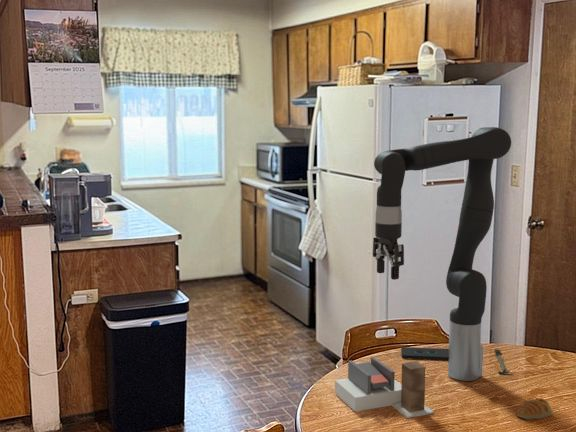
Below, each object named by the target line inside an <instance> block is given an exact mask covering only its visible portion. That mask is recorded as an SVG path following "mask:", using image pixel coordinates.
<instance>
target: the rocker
mask: <svg viewBox="0 0 576 432" xmlns="http://www.w3.org/2000/svg"><path fill="white" fill-rule="evenodd" d="M356 364H357V365H358V366H360V367H361V368H362V369H364V370H365V371H366V372H368V373H369V374H370V375H371V388H372V389H374V388H380V387H386V386H389V381H388V380H387V379H386V378H385V377H384V376H383V375H382V374H381V373H380V372H379V371H378V370H377V369H376V368H375V367H374V366H373V365H372V364H371V361H368V362H367V361H366V362H359V363H356Z"/></svg>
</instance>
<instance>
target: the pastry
mask: <svg viewBox="0 0 576 432" xmlns="http://www.w3.org/2000/svg"><path fill="white" fill-rule="evenodd" d="M552 413H553V410H552V407H551V406H550V404H549V402H548V401H547V400H546V399H544V398H539V397H536V398H534V399H529V400H526V401H525V402H524V403H522V404H521V405H519V407H518V408H517V409H516V416H517V417H519V418H522V419H523V420H530V421H531V420H540V419H543V418H547V417H550V416H551V415H552Z"/></svg>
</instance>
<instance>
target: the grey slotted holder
mask: <svg viewBox="0 0 576 432" xmlns="http://www.w3.org/2000/svg"><path fill="white" fill-rule="evenodd" d="M347 362H348V363H347V378H345V377H344V378H341V379H335V380H334V394H335V395H336V396H337V397H338V398H339V399H341V401H342V402H344V403H345V404H346V405H347V406H348V407H349V408H350V409H351V410H353V412H362V411H363V412H364V411H367V410H368V411H369V410H373V409H378V408H385V407H391V406H392V404H398V403H401V385H402V383H400V382H399V381H397V380H396V379H395V370H394V369H391V368H390V367H389V366H387V365H386V364H385V363H383V362H382V361H380V360H379V359H377V358H376V357H375V356H373V357H372V356H371V357H370V363H371V364H372V365H373V366H374V367H375V368H376V369H377V370H378V371H379V372H380V373H381V374H382V375H383V376H384V377H385V378H386V379H387V380H388V381H389V386H386V387H380V388H374V389H372V388H371V375H370V374H369V373H368V372H366V371H365V370H364V369H362V368H361V367H360V366H358V365H357V364H358V363H356V362H355V361H353V360H348V361H347Z"/></svg>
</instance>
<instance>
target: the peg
mask: <svg viewBox="0 0 576 432" xmlns="http://www.w3.org/2000/svg"><path fill="white" fill-rule="evenodd" d="M425 389H426V366H424V365H423V364H421V363H420V362H418V361H417V360H416V361H410V362H404V363H401V406H402V407H403V408H405V409H406V410H407V411H408V412H415V411H420V410H424V405H425V402H426V401H425V396H426V392H425V391H426V390H425Z"/></svg>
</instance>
